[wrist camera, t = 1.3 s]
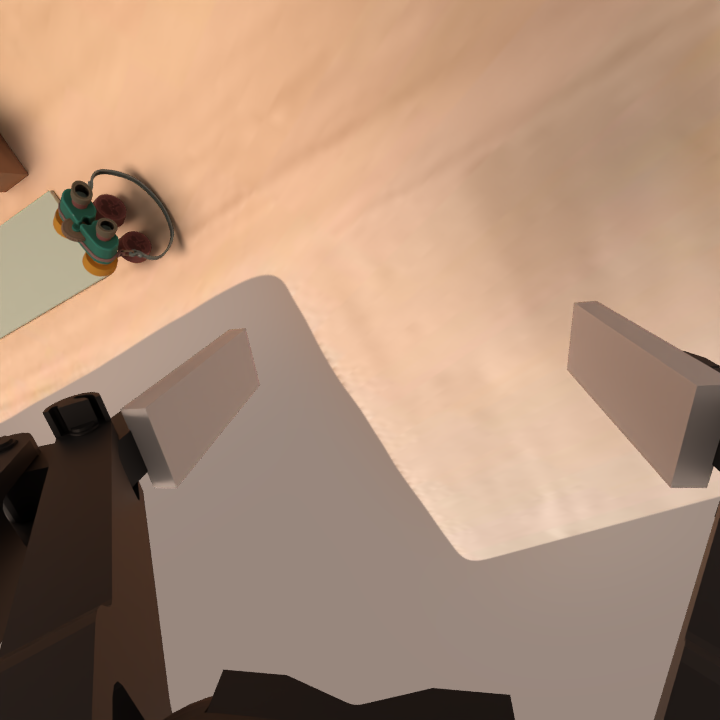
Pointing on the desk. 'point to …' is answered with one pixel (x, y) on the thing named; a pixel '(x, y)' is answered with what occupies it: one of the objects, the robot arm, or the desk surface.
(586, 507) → the desk surface
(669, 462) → the robot arm
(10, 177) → the rack
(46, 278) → the mat
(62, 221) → the binoculars
